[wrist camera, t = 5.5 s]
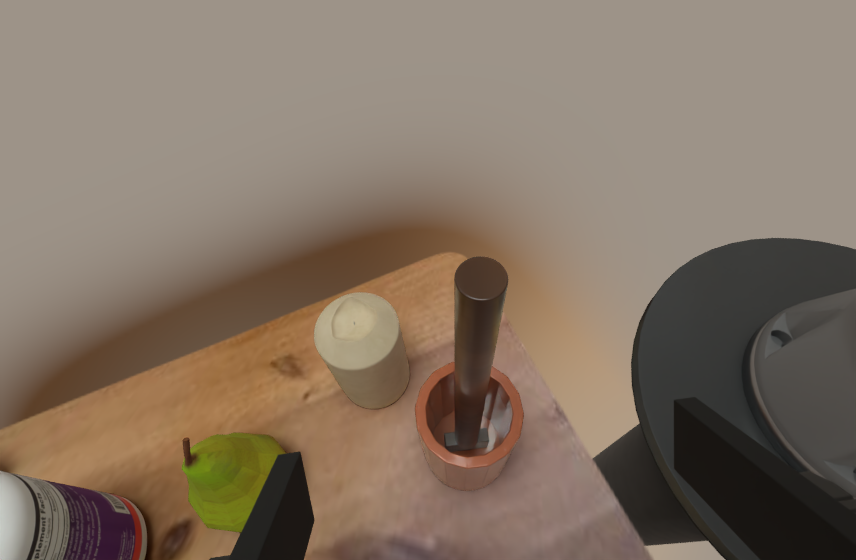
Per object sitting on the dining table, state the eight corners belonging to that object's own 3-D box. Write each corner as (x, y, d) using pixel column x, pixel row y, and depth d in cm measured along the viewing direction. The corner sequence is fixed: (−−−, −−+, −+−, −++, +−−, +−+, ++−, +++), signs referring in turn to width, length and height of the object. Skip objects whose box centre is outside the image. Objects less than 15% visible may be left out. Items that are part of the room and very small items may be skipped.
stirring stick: (484, 429, 32) (524, 249, 14) (488, 452, 31) (537, 294, 13) (443, 434, 32) (428, 261, 14) (446, 458, 31) (434, 307, 13)
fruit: (196, 512, 31) (71, 487, 21) (248, 428, 34) (160, 371, 24) (272, 553, 29) (177, 548, 19) (319, 461, 32) (258, 415, 22)
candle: (342, 348, 37) (308, 286, 29) (407, 340, 37) (393, 275, 29) (342, 414, 34) (305, 365, 26) (413, 405, 34) (399, 354, 26)
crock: (497, 400, 34) (510, 354, 26) (514, 485, 31) (534, 459, 23) (420, 410, 34) (410, 367, 26) (429, 496, 31) (421, 475, 23)
